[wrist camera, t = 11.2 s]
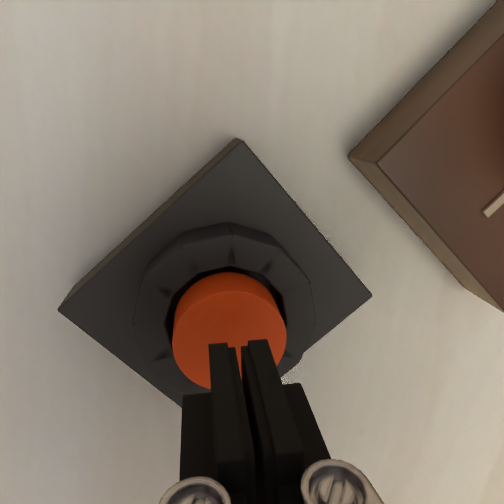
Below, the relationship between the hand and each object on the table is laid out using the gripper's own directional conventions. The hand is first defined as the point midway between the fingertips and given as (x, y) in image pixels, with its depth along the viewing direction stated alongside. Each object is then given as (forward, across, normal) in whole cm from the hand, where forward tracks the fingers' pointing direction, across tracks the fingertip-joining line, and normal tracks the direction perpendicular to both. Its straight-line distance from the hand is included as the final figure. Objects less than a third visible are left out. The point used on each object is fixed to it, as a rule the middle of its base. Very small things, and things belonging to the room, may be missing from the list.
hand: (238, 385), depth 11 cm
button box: (+8, 0, 0) cm, 8 cm away
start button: (+4, 0, 0) cm, 4 cm away
